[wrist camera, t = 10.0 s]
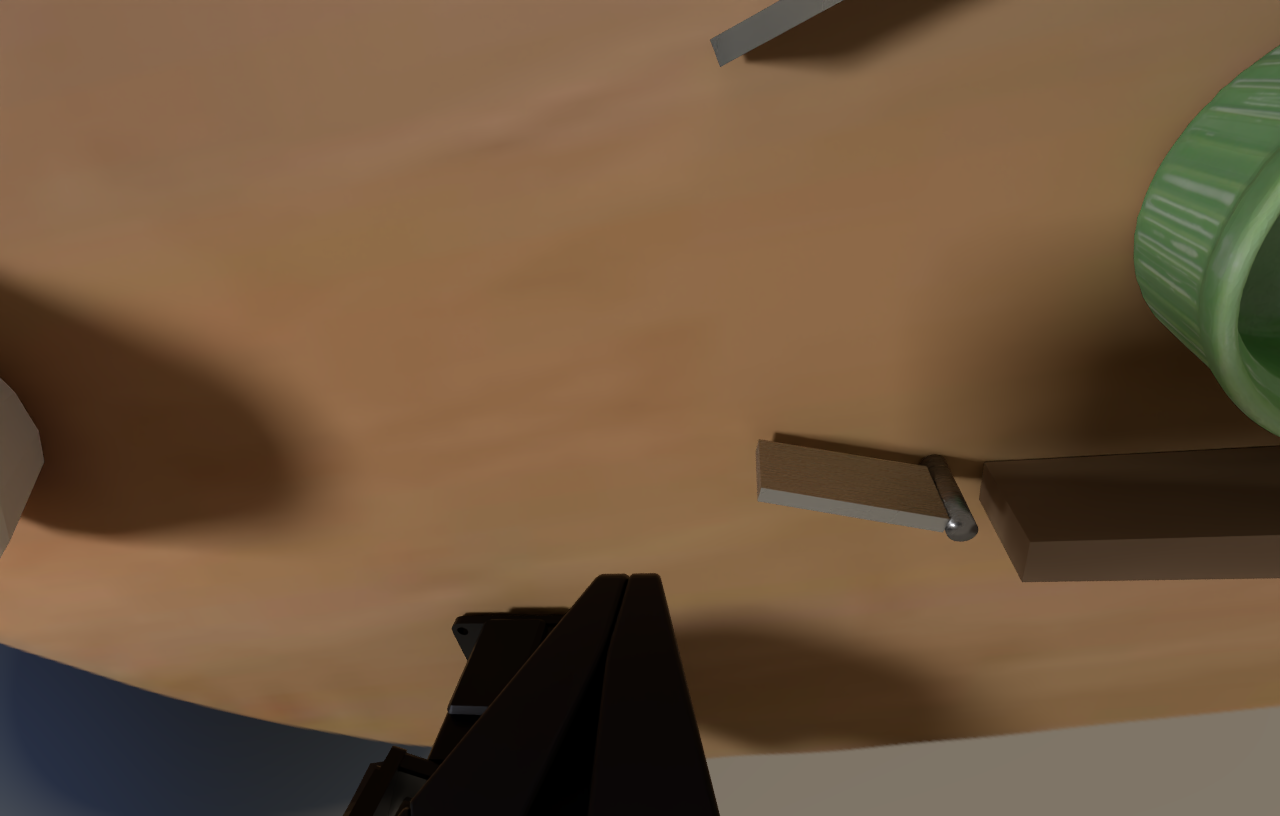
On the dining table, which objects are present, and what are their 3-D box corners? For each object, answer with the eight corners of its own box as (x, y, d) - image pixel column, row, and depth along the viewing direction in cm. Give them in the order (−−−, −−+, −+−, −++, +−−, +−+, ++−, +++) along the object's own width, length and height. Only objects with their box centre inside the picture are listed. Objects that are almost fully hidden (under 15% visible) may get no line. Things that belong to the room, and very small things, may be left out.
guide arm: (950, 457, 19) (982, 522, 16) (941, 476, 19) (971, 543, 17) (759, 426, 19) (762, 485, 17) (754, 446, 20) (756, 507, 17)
